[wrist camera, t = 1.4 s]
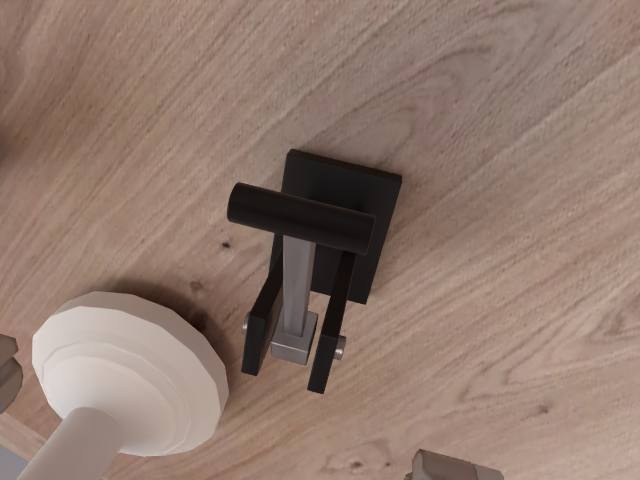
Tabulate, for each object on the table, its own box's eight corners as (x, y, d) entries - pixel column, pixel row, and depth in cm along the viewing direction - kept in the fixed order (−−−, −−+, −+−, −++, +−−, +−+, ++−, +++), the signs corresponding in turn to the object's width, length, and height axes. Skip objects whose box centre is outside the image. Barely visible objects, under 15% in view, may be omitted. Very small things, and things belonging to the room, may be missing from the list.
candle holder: (93, 238, 45) (-96, 389, 28) (271, 343, 48) (194, 539, 31) (45, 359, 55) (-115, 524, 38) (195, 441, 57) (105, 630, 41)
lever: (243, 163, 17) (219, 218, 16) (380, 196, 16) (367, 255, 15) (261, 314, 30) (248, 350, 29) (337, 334, 30) (328, 372, 28)
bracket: (290, 148, 37) (217, 247, 24) (402, 175, 37) (393, 292, 23) (271, 272, 43) (204, 406, 30) (366, 296, 43) (343, 445, 29)
